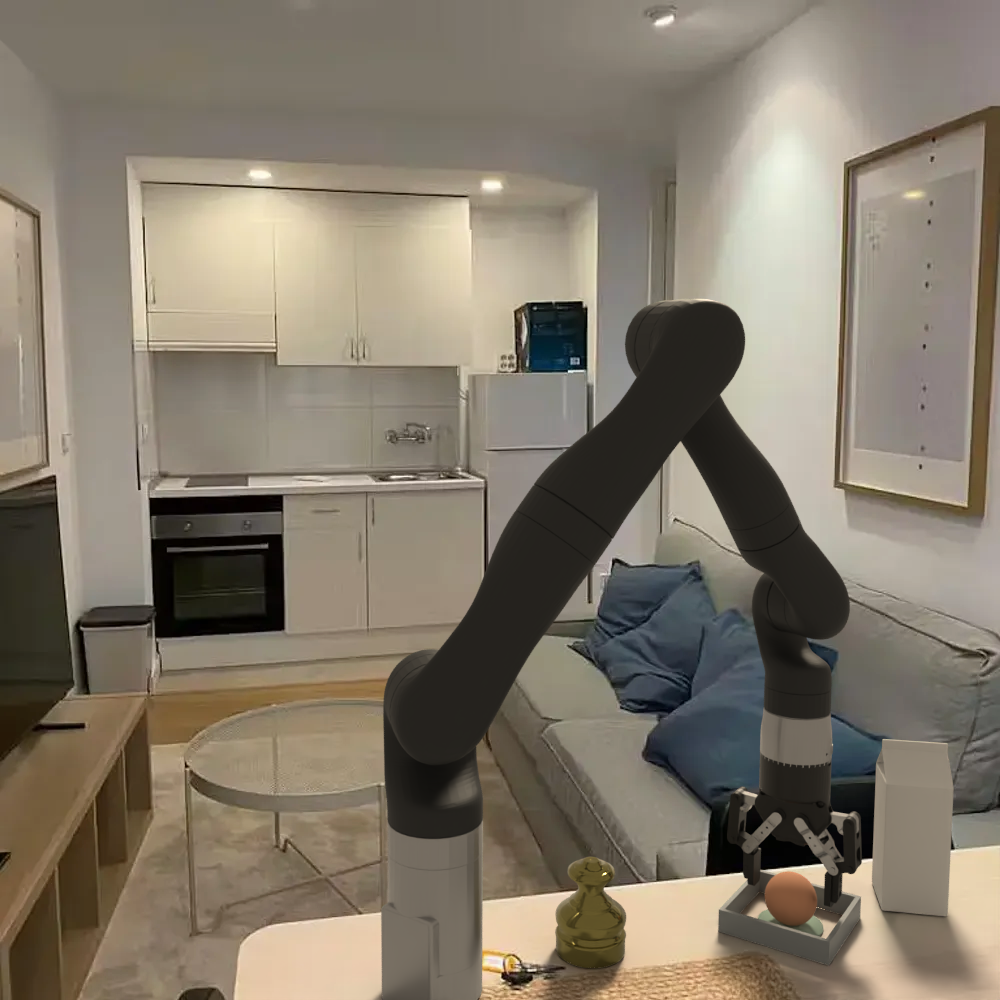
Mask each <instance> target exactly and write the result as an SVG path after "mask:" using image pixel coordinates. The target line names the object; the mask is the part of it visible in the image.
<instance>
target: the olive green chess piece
mask: <svg viewBox="0 0 1000 1000" xmlns="http://www.w3.org/2000/svg"><path fill="white" fill-rule="evenodd" d="M615 870H616V869H615V868H614V866H613V865H612V864H611V863H610V862H607V861H605V860H603V859H601V858H598V857H597V856H596V857H595V856H586V857H584V858H580V859H577V860H575V861H572V863H570V864H569V865H568V867H567V875H568V877H569V878H570V879H571V881H574V883H576V885H577V886H578V888H577V890H576V891H575V892H574V893H571V894H570V896H568V897H566V898H565V899H562V901H561V902H560V903H559V904H558V906H556V910H555V921H556V924H557V925H556V927H555V929H554V931H555V932H554V933H555V951H556V953H557V955H558V956H559V957H560V958H561V959H562V960H563V961H564V962H566V963H568V964H569V965H573V966H575V967H579V968H583V969H602V968H608V967H611V966H613V965H616V964H617V963H618V962H620V961H621V960H622V959H623V958H624V956H625V954H626V938H627V933H626V932H627V931H626V930H625V926H626V922H627V913H626V910H625V908H624V907H623V906H622V904H620V903H619V902H618V901H616V900H615V899H613V897H611V896H610V894H608V893H607V892H606V891H605V890H604V889H605V887H606V885H607V884H608V883H611V881H612V880H614V879H615V876H616V871H615Z"/></svg>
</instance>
